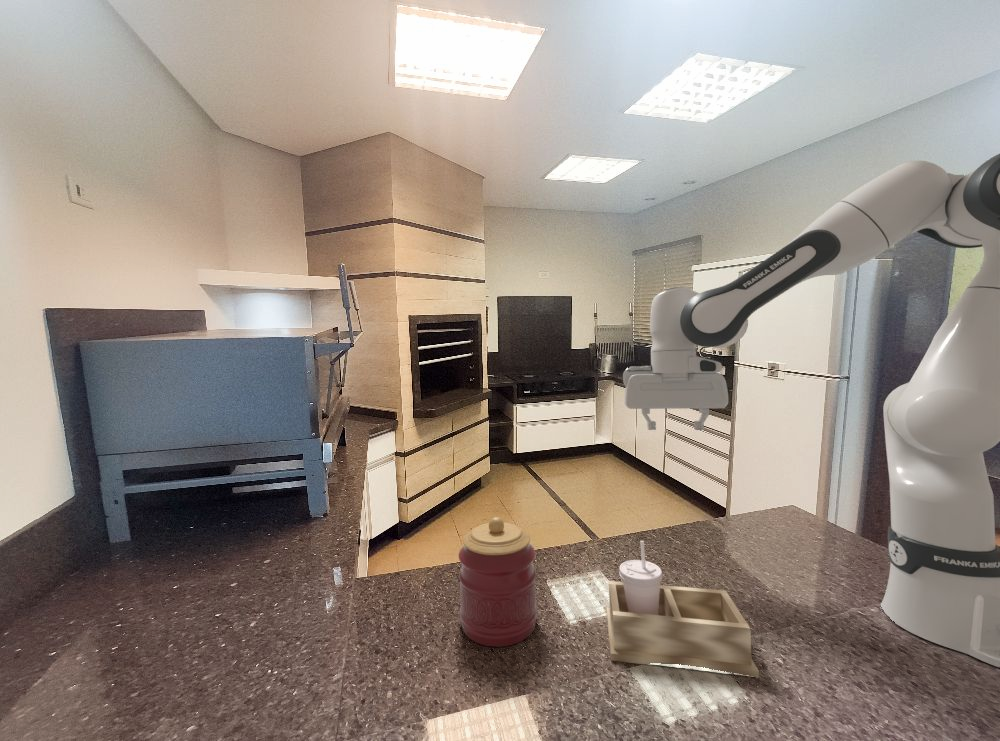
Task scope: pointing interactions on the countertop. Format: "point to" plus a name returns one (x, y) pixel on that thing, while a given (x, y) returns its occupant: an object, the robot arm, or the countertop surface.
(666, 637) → the wooden divided tray
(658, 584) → the smoothie
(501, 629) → the canister
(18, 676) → the countertop surface
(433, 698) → the countertop surface
